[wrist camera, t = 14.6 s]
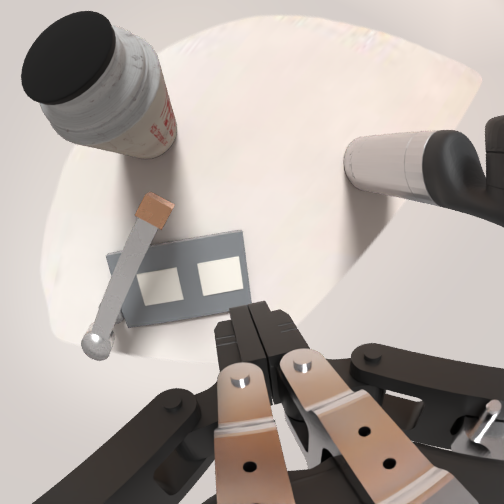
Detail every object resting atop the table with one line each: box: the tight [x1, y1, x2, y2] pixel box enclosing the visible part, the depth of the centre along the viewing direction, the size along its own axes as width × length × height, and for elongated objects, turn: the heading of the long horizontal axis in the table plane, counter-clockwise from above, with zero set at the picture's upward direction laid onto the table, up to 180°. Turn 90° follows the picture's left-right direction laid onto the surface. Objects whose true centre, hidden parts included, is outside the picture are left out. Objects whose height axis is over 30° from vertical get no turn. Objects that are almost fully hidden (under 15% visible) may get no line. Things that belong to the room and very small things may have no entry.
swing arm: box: [81, 192, 174, 361], centre depth 29 cm, size 22×4×4 cm, turn 148°
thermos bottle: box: [21, 11, 177, 159], centre depth 20 cm, size 8×8×28 cm
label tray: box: [106, 230, 252, 328], centre depth 39 cm, size 20×12×2 cm, turn 96°
